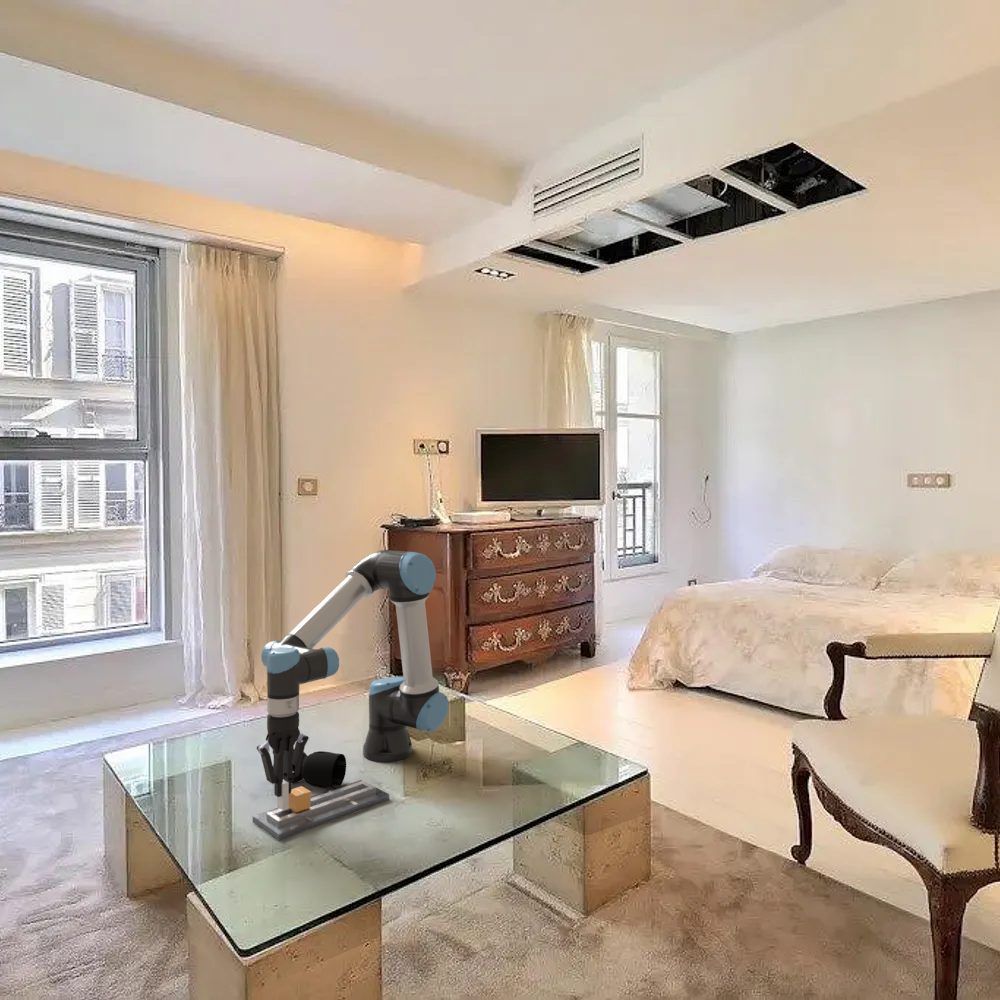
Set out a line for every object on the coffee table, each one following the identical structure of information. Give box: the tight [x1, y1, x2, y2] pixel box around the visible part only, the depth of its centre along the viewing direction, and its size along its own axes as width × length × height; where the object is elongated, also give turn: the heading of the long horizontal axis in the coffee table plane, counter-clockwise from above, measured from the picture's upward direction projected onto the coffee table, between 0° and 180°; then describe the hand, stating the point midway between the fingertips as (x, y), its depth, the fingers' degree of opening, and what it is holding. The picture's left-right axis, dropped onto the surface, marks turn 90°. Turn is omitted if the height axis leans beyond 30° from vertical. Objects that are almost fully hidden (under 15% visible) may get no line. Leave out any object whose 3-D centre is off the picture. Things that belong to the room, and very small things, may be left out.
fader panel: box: [252, 779, 390, 841], centre depth 189 cm, size 32×13×3 cm, turn 135°
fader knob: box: [288, 785, 312, 813], centre depth 183 cm, size 4×4×5 cm
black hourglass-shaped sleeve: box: [272, 750, 347, 789], centre depth 205 cm, size 9×9×20 cm
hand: (282, 807), depth 180 cm, fingers closed
